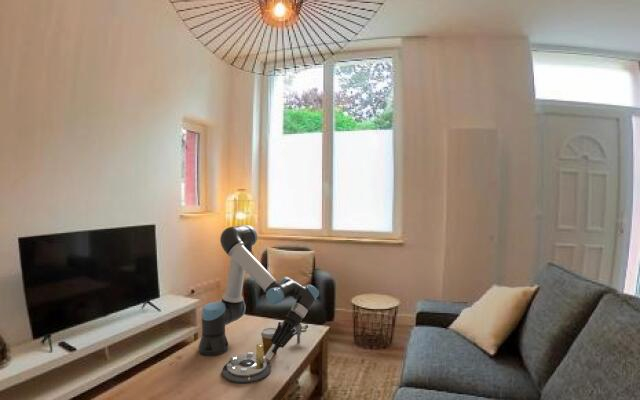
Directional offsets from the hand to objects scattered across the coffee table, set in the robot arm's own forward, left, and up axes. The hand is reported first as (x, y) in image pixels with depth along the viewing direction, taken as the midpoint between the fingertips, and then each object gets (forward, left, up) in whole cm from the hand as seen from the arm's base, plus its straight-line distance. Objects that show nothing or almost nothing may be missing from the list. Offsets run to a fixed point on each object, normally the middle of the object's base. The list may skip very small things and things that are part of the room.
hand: (267, 358), depth 172 cm
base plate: (-7, -6, -7) cm, 12 cm away
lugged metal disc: (-7, -6, -5) cm, 11 cm away
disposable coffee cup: (-15, +12, -7) cm, 21 cm away
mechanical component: (-18, +32, -7) cm, 37 cm away
